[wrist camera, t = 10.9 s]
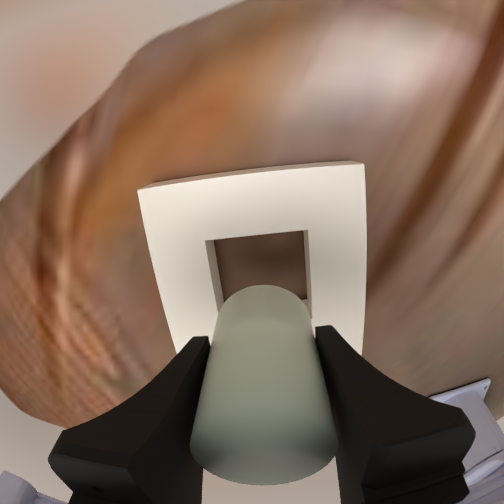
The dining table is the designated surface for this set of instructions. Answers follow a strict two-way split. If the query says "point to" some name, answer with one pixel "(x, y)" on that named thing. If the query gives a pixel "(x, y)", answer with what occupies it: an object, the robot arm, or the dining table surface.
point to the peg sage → (263, 393)
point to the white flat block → (256, 223)
